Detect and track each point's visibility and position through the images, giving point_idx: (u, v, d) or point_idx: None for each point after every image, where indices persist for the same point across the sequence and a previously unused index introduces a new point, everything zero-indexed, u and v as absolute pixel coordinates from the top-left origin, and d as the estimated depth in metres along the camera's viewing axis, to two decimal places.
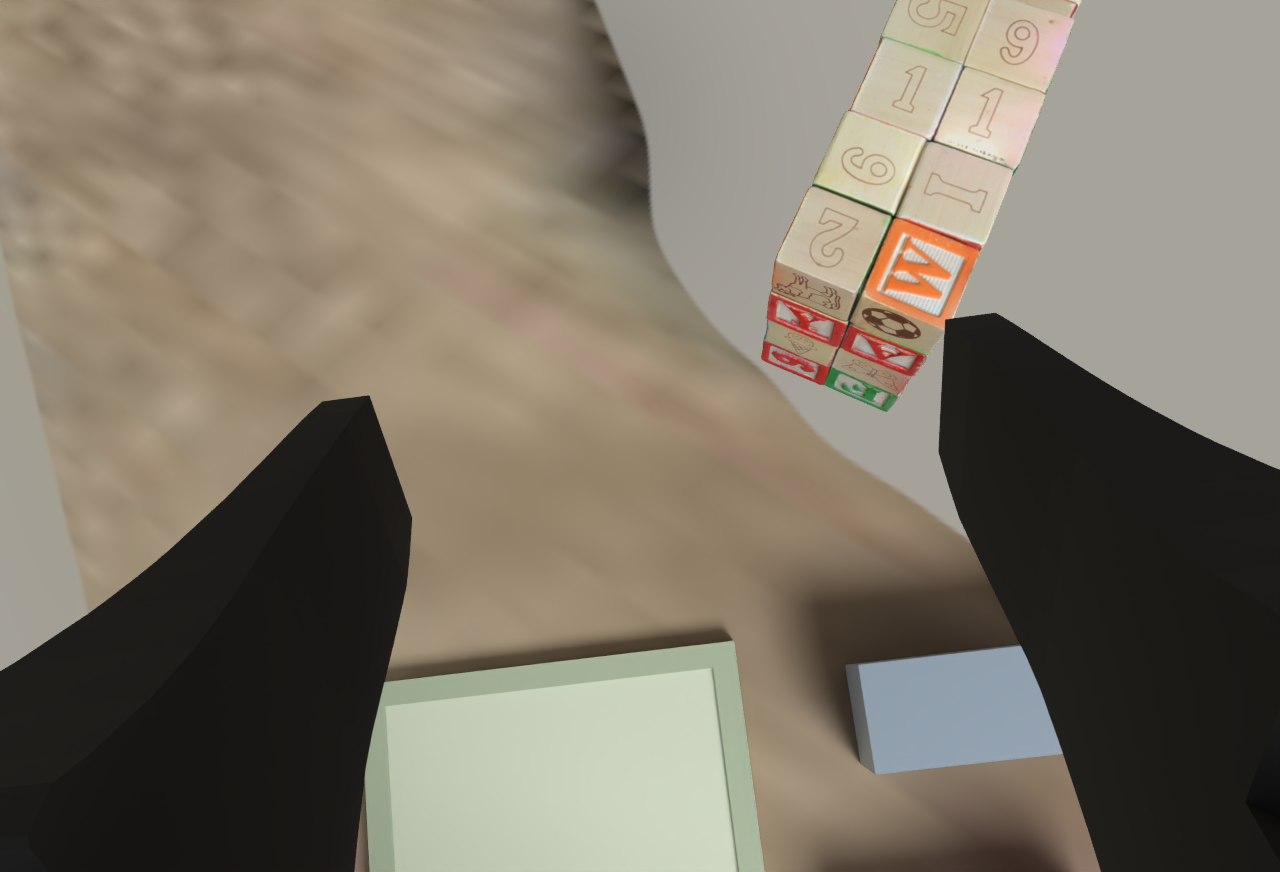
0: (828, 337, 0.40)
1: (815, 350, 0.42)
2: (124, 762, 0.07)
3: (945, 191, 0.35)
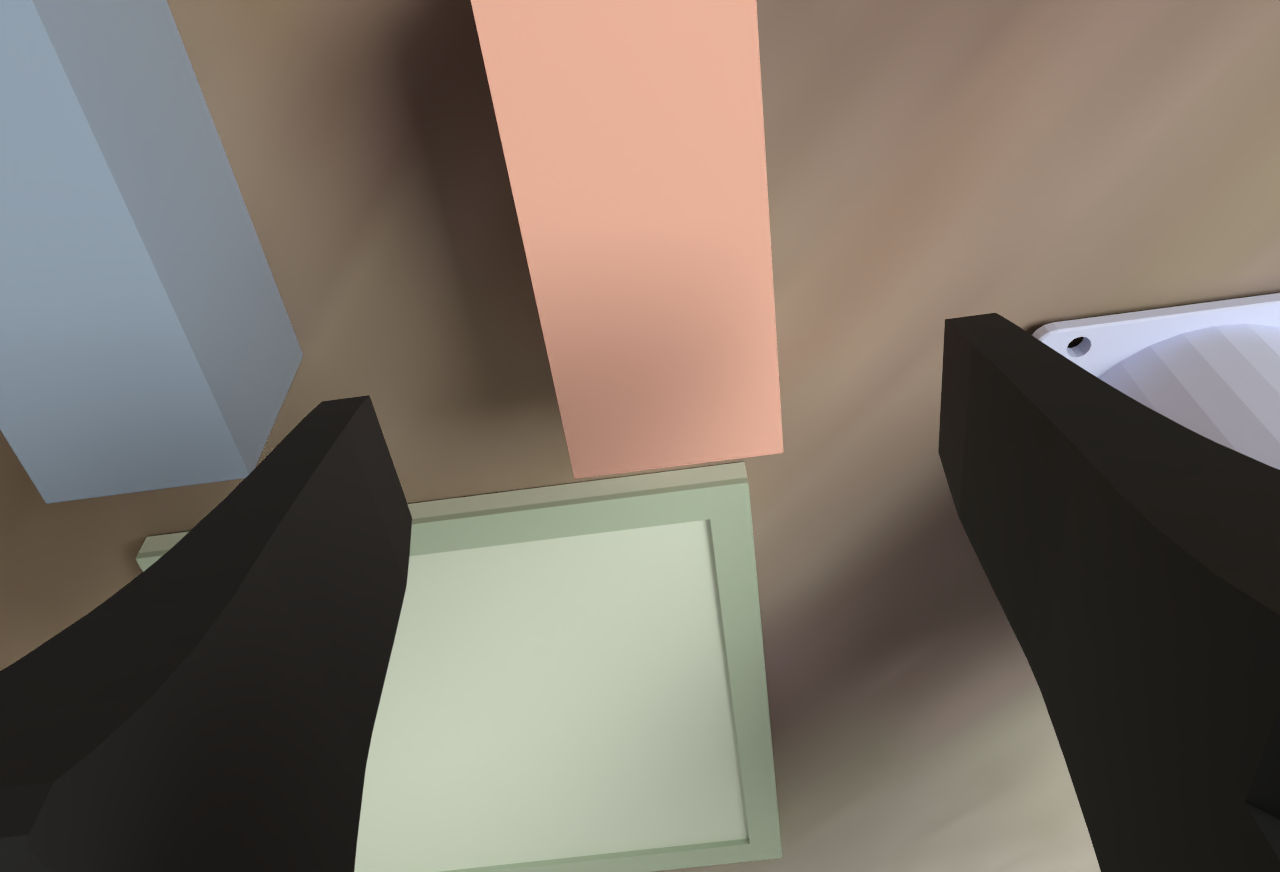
0: None
1: None
2: (124, 762, 0.07)
3: None
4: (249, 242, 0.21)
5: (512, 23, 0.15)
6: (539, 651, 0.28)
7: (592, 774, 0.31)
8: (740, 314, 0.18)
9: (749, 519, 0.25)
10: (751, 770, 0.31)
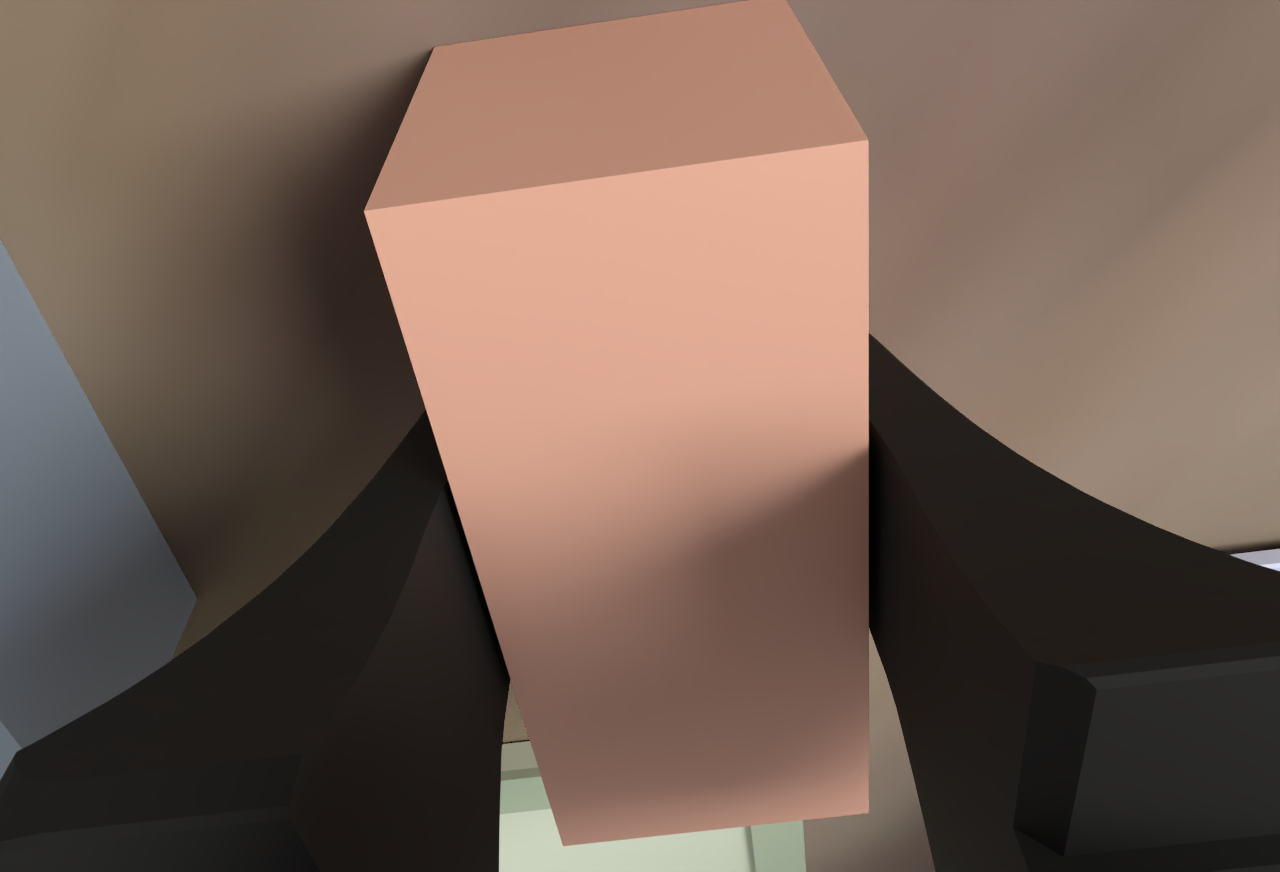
0: None
1: None
2: (347, 736, 0.07)
3: None
4: (105, 474, 0.15)
5: (446, 274, 0.09)
6: None
7: None
8: (815, 656, 0.12)
9: None
10: None
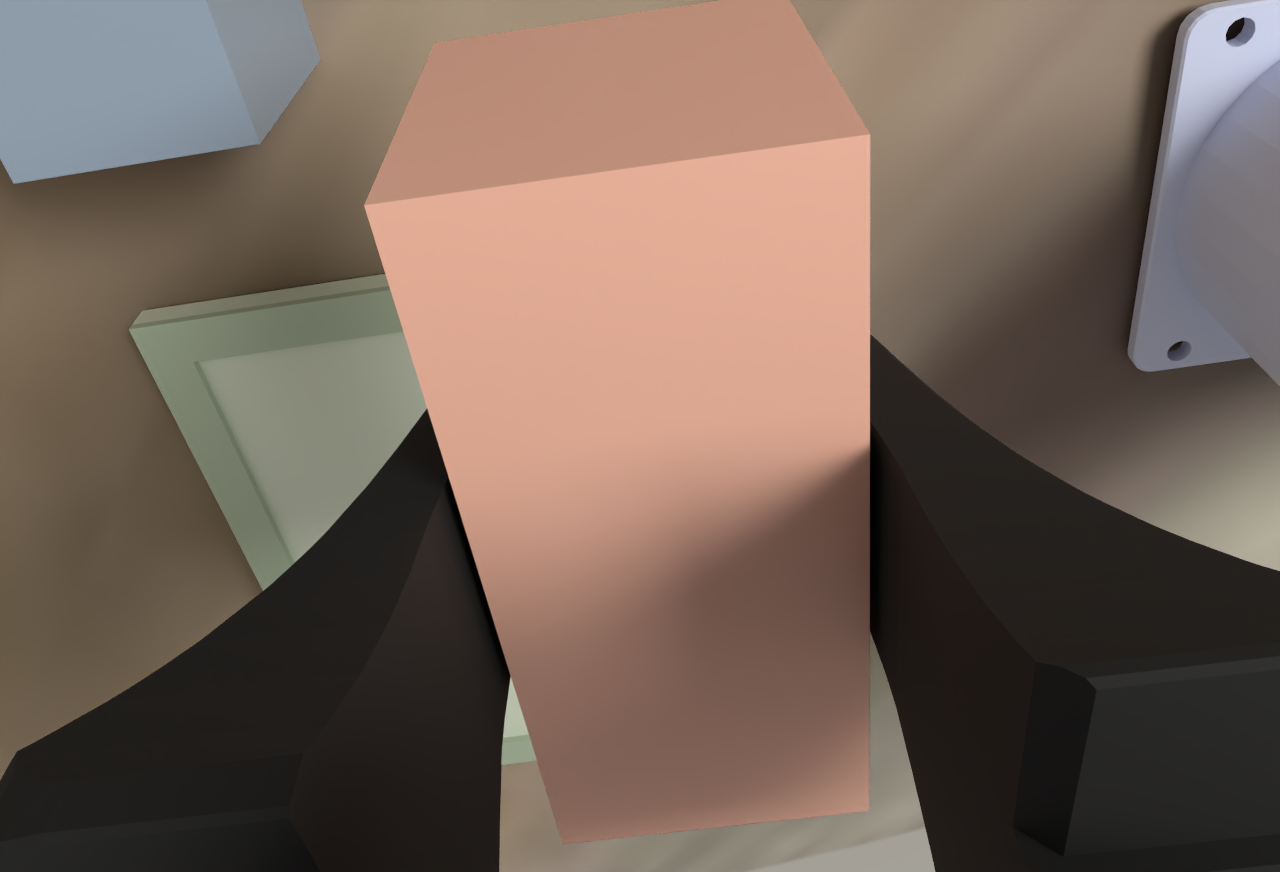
0: None
1: None
2: (347, 736, 0.07)
3: None
4: None
5: (447, 268, 0.09)
6: None
7: None
8: (816, 652, 0.11)
9: None
10: None
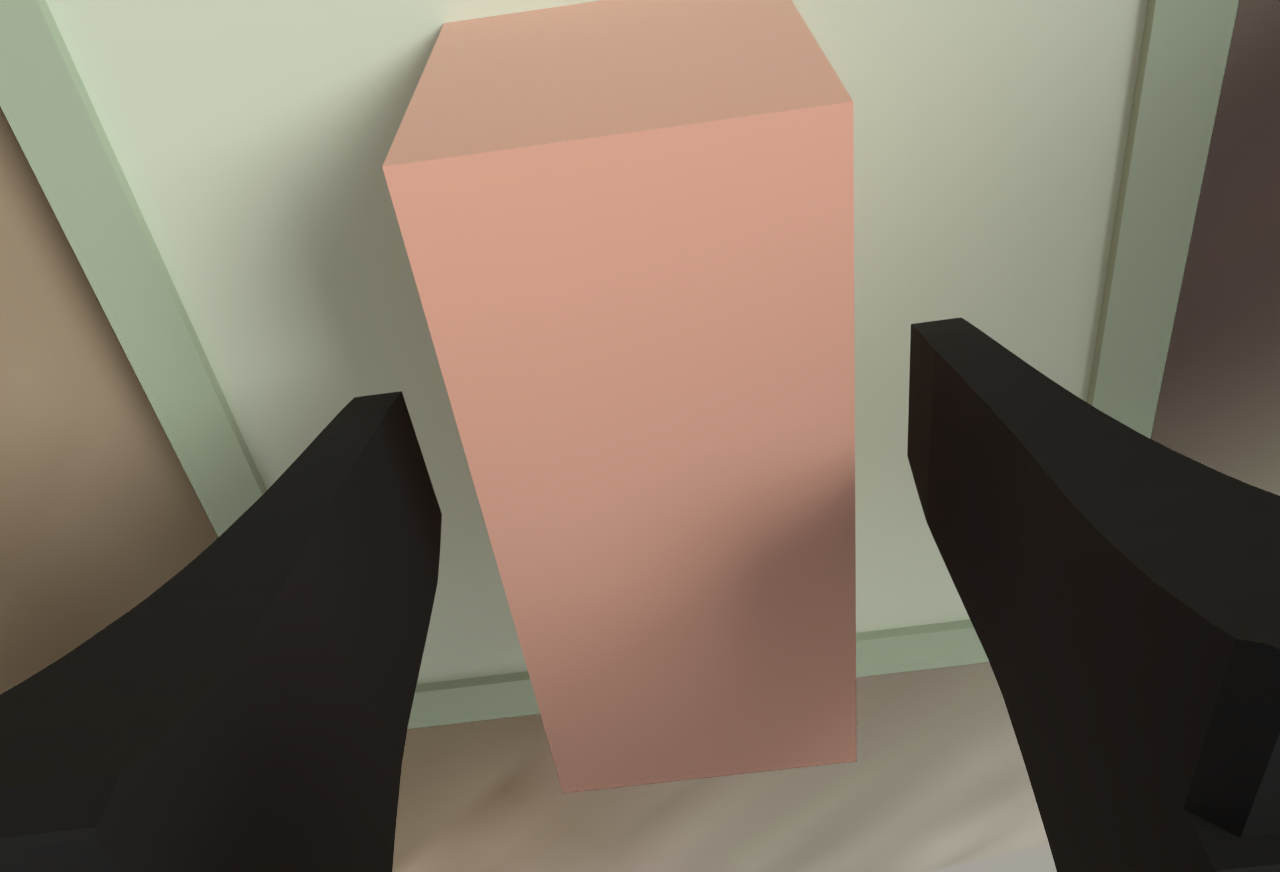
0: None
1: None
2: (182, 755, 0.07)
3: None
4: None
5: (459, 228, 0.09)
6: None
7: None
8: (804, 603, 0.12)
9: None
10: None
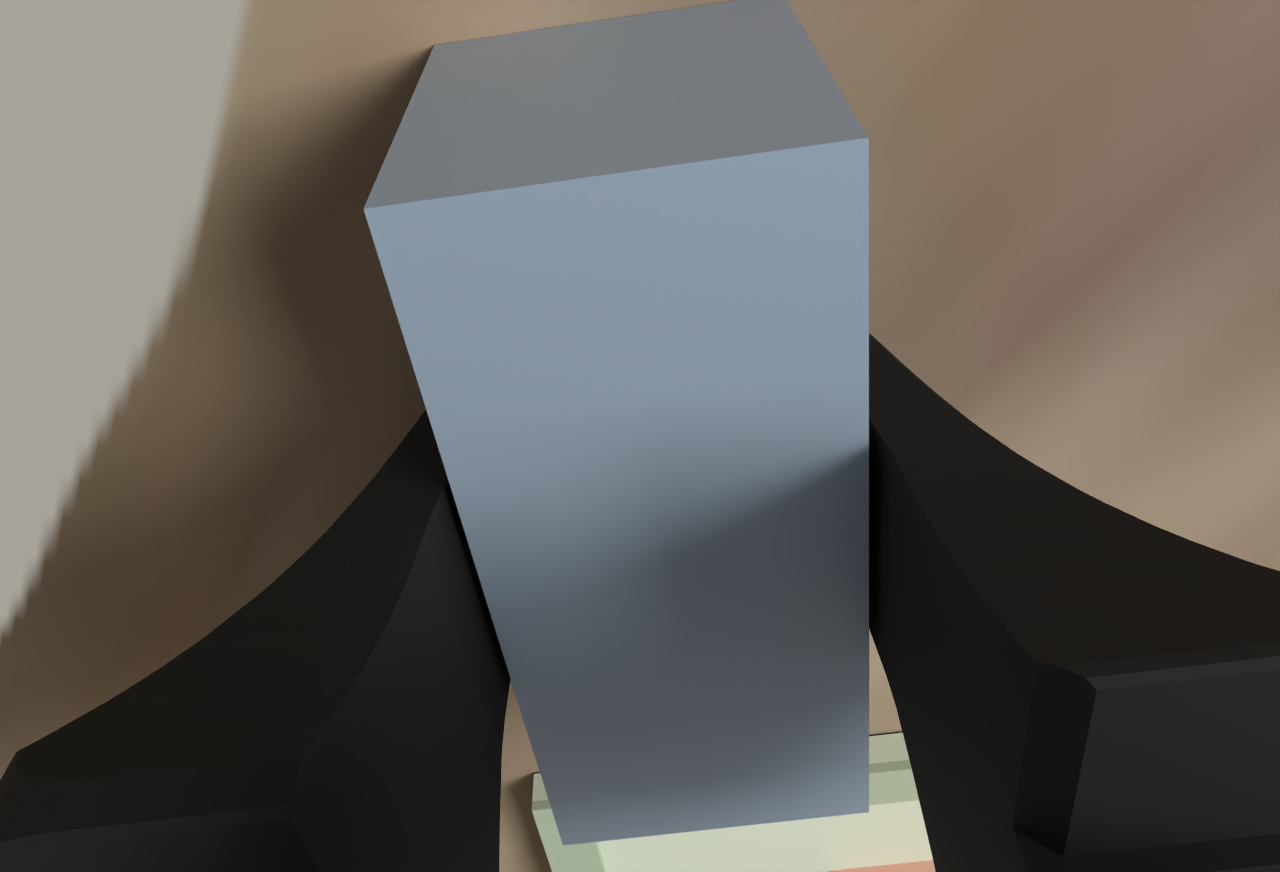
0: None
1: None
2: (347, 736, 0.07)
3: None
4: None
5: None
6: None
7: None
8: None
9: None
10: None
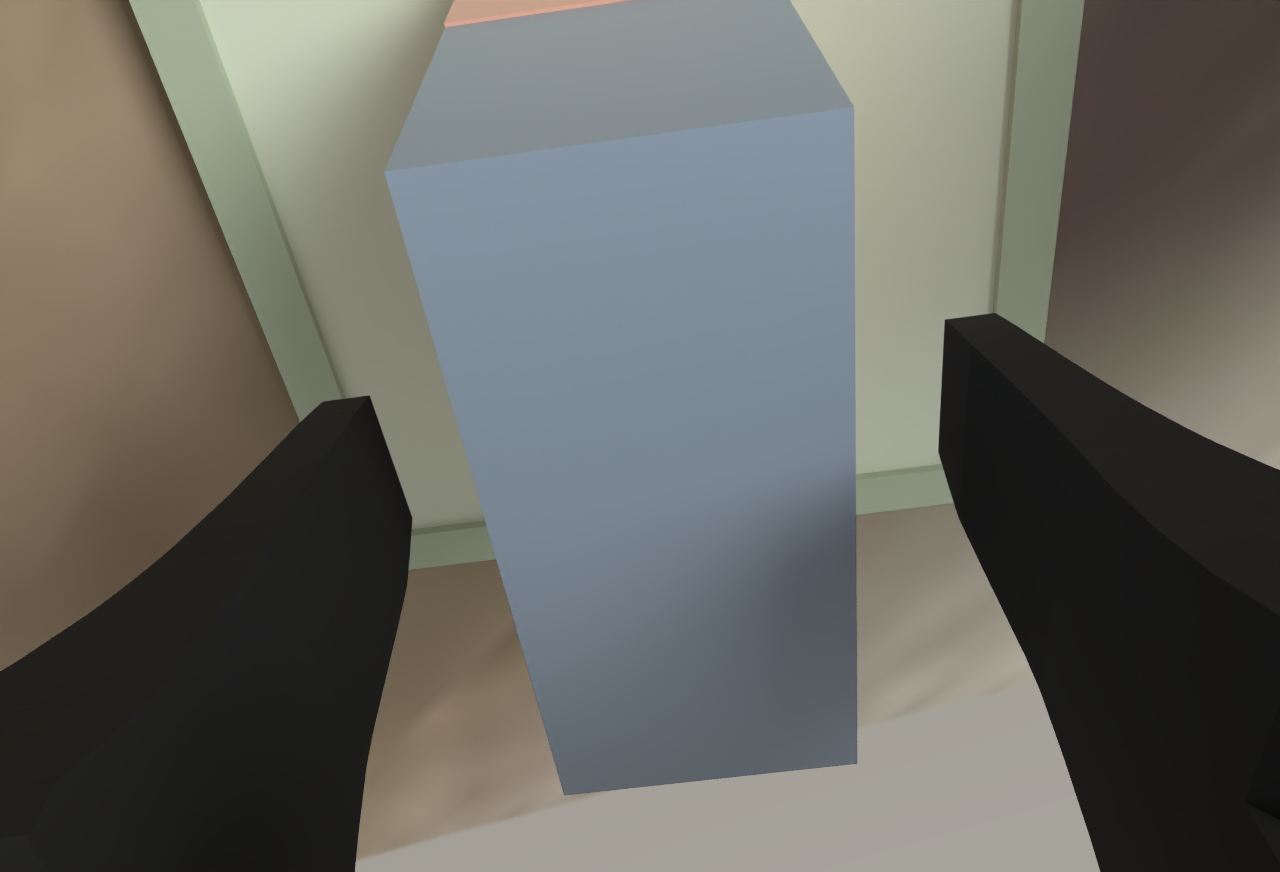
0: None
1: None
2: (125, 762, 0.07)
3: None
4: None
5: None
6: None
7: None
8: None
9: None
10: (1013, 306, 0.20)
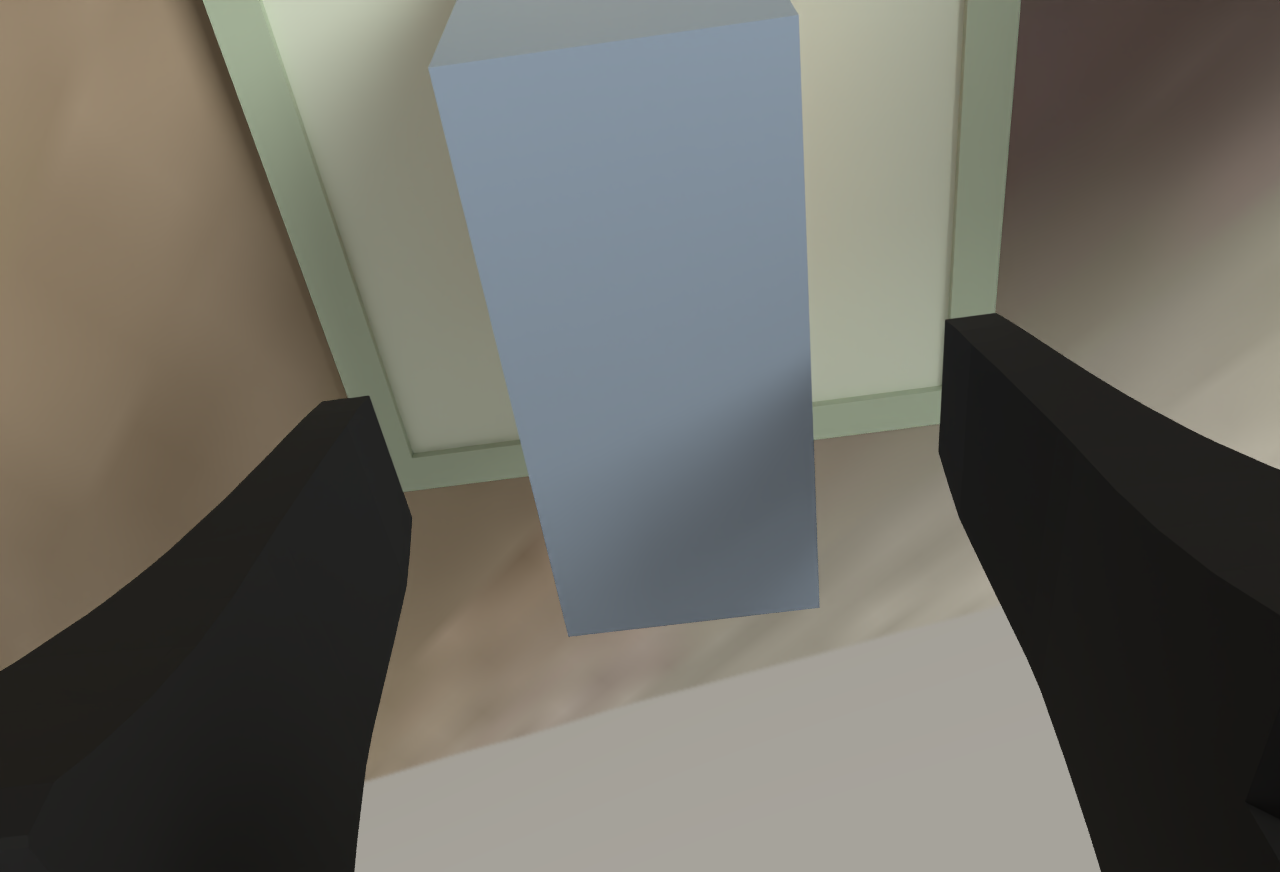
0: None
1: None
2: (123, 762, 0.07)
3: None
4: None
5: None
6: None
7: None
8: None
9: None
10: (969, 240, 0.22)
